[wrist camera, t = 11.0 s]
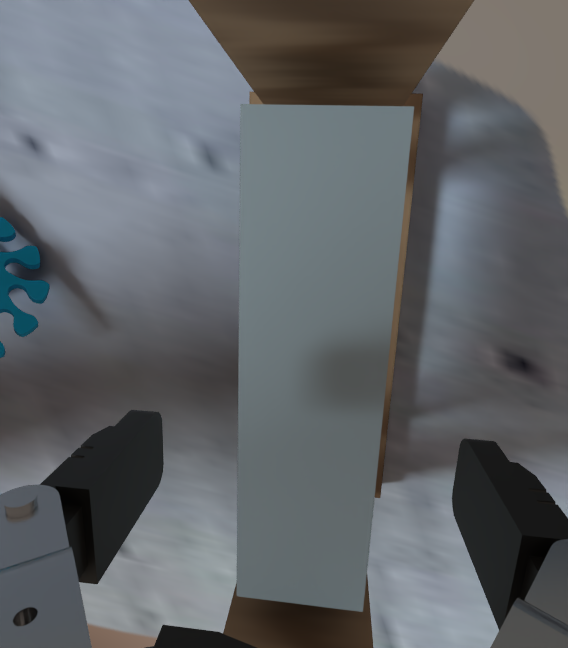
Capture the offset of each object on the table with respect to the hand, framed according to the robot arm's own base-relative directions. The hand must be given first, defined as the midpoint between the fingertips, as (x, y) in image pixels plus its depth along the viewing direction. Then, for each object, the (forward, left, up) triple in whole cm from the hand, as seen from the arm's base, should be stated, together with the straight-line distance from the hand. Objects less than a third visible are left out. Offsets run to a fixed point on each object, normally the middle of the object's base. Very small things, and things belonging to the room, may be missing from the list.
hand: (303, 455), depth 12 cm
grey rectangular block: (0, 0, -7) cm, 7 cm away
